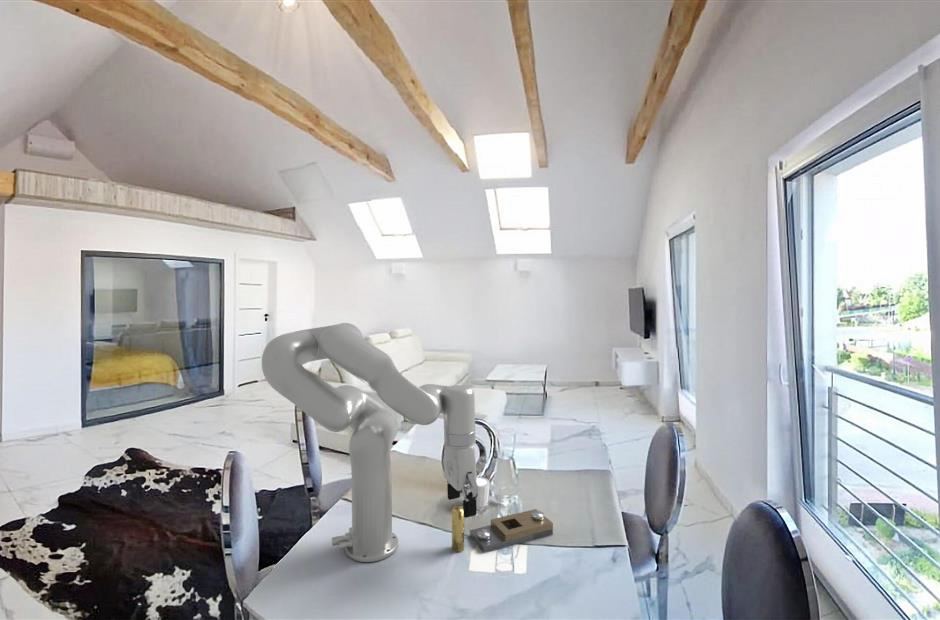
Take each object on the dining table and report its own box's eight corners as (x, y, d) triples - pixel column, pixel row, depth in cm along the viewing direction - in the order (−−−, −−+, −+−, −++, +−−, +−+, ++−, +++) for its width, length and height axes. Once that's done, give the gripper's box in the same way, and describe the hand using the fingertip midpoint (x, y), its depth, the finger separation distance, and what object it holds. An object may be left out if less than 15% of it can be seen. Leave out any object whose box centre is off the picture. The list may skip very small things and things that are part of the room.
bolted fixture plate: (483, 552, 107) (483, 536, 107) (469, 535, 114) (469, 520, 114) (552, 534, 115) (553, 519, 115) (535, 519, 123) (536, 505, 122)
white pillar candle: (487, 511, 127) (487, 487, 126) (463, 509, 128) (464, 485, 128) (491, 500, 133) (491, 477, 133) (468, 498, 135) (469, 475, 134)
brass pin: (454, 553, 107) (454, 513, 106) (449, 547, 109) (450, 507, 109) (466, 550, 108) (466, 510, 107) (461, 544, 111) (461, 504, 110)
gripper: (433, 429, 113) (434, 495, 114) (459, 451, 98) (461, 527, 99) (460, 425, 117) (461, 489, 117) (490, 446, 101) (491, 519, 102)
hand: (461, 506), depth 108 cm, fingers open, 9 cm apart
